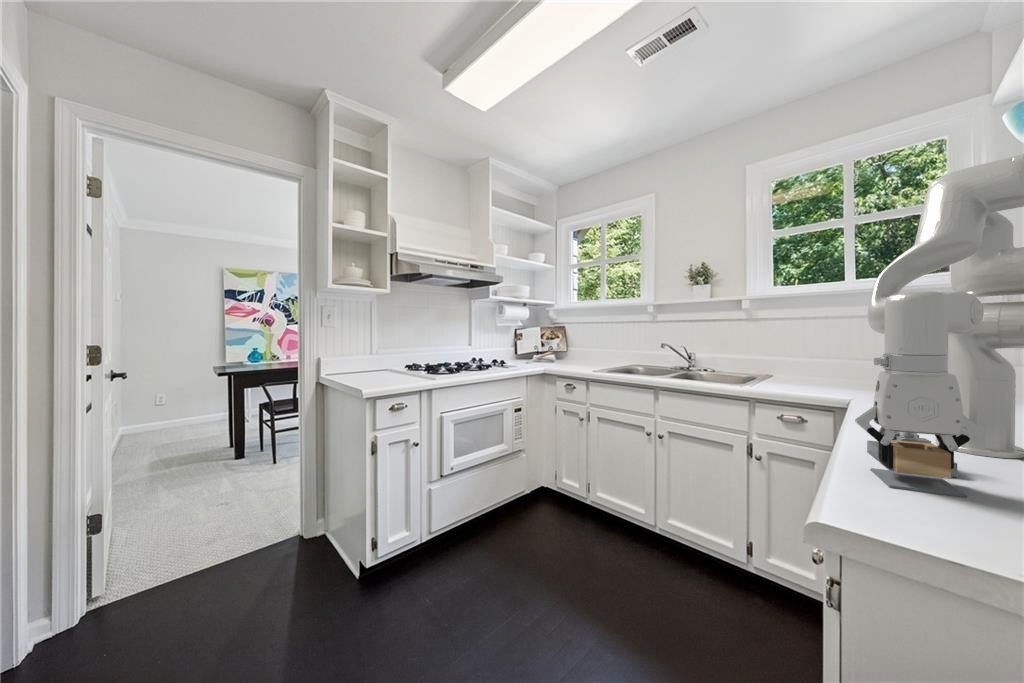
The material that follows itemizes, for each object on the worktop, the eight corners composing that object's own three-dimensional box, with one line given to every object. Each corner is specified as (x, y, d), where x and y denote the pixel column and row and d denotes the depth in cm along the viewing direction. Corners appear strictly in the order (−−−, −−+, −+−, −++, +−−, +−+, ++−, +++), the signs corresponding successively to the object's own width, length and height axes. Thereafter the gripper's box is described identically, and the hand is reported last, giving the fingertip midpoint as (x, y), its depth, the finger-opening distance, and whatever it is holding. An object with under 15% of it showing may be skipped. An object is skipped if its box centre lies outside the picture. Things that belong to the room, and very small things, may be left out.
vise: (859, 445, 88) (859, 400, 87) (914, 450, 83) (914, 403, 83) (889, 470, 73) (889, 415, 72) (957, 477, 68) (957, 419, 68)
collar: (882, 460, 71) (882, 439, 71) (931, 465, 68) (931, 443, 68) (897, 472, 65) (897, 448, 65) (950, 478, 62) (950, 453, 62)
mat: (870, 470, 73) (870, 468, 73) (937, 477, 68) (937, 475, 68) (889, 487, 65) (889, 485, 65) (966, 497, 61) (966, 494, 61)
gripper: (856, 365, 67) (856, 468, 67) (1004, 368, 59) (1003, 485, 59) (843, 362, 74) (843, 456, 74) (975, 364, 65) (974, 469, 66)
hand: (914, 468), depth 67 cm, fingers closed on collar, 6 cm apart
